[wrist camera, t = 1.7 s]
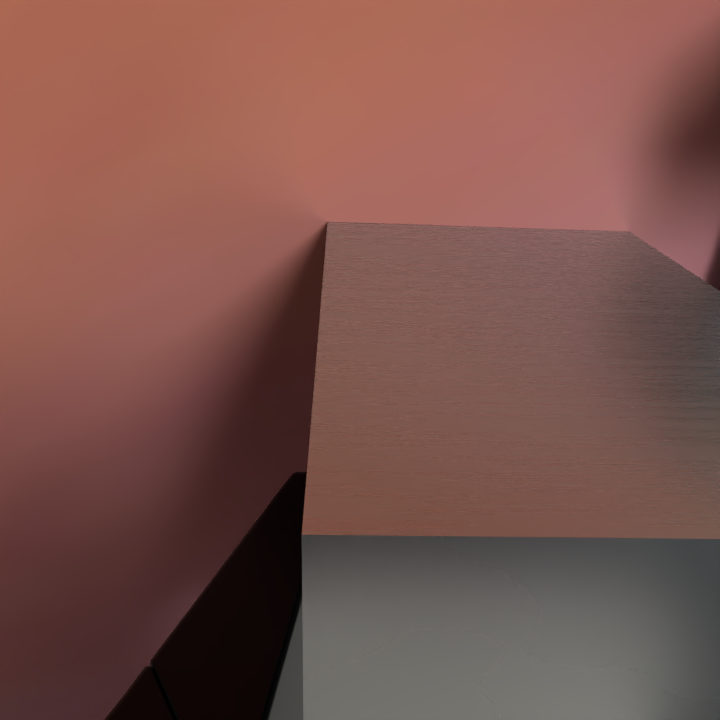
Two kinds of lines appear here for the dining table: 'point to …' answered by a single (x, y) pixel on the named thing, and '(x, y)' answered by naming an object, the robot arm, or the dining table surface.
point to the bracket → (511, 479)
